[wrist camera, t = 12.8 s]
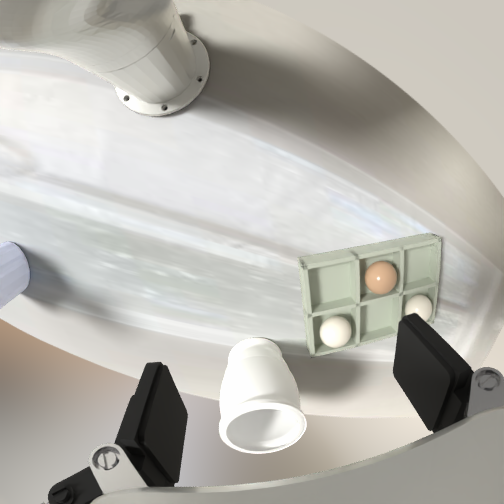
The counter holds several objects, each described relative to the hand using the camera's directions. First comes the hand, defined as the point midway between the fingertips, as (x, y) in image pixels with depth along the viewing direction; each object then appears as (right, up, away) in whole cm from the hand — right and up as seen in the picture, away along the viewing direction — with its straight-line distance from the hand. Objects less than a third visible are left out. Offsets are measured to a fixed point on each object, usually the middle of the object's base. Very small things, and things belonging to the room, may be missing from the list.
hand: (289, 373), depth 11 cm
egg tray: (+16, -1, +31) cm, 35 cm away
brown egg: (+16, +2, +29) cm, 33 cm away
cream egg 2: (+24, -4, +31) cm, 39 cm away
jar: (-1, -12, +33) cm, 36 cm away
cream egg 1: (+10, -6, +31) cm, 33 cm away
